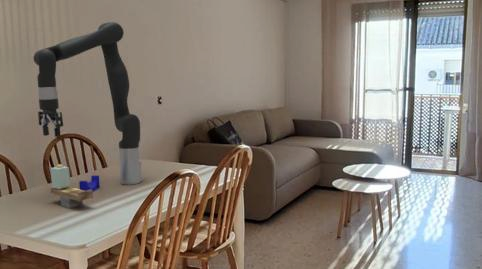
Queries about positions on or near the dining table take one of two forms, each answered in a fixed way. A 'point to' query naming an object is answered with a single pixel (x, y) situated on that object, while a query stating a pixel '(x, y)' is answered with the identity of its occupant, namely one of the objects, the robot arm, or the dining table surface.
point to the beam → (72, 196)
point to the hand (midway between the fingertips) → (51, 136)
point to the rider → (60, 177)
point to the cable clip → (90, 184)
